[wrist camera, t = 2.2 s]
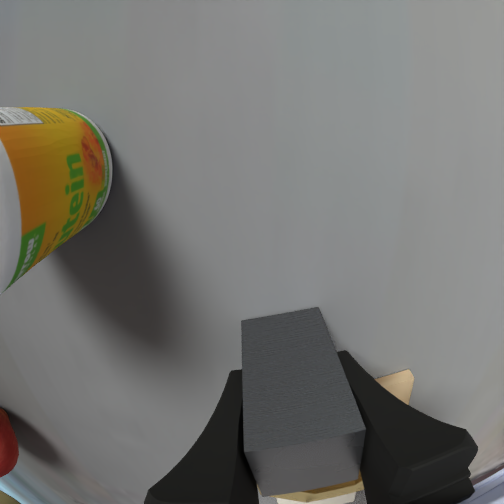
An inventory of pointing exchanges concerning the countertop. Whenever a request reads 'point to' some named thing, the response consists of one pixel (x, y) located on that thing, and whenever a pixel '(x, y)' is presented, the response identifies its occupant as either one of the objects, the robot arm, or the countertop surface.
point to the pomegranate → (7, 445)
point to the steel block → (297, 405)
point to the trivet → (329, 503)
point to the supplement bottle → (47, 183)
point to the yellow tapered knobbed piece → (7, 499)
